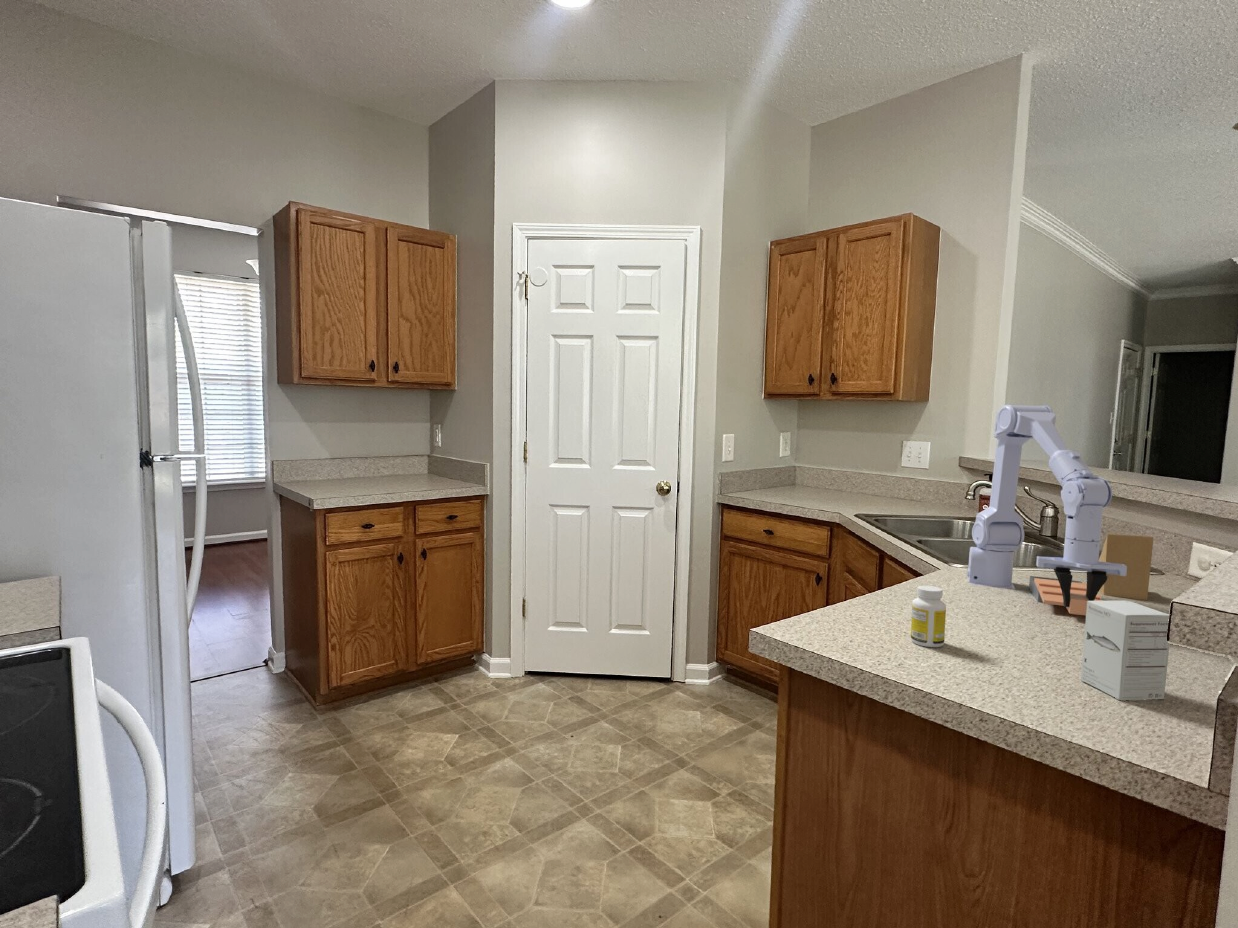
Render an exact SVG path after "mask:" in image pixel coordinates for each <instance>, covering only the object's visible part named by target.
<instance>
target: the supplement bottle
mask: <svg viewBox="0 0 1238 928" xmlns="http://www.w3.org/2000/svg"><path fill="white" fill-rule="evenodd" d="M916 595H917V598H914V599H913V601H912V604H911V623H910V626H911V627H910V640H911V642H912V643H913V644H915V645H918V646H922V647H925V648H926V647H927V648H941V647H943V646H944V645H945V638H946V637H945V635H946V634H945V631H946V612H947V605H946V604H945V602H944V601H943V600H941V599H942V598H943V589H942V588H940V587H938V586H934V585H918V587H917V589H916Z"/></svg>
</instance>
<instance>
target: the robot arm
mask: <svg viewBox="0 0 1238 928" xmlns="http://www.w3.org/2000/svg"><path fill="white" fill-rule="evenodd" d="M1056 420H1057V416H1056V414H1055V412H1053V409H1052V408H1051V407H1050V406H1049V405H1046V404H1045V405H1043V404H1042V405H1020V404H1018V405H1015V404H1014V405H1013V404H1005V405H1003V406H1002V407H1001V408H1000V409H999V410H998V411H997V412H996V416H995V423H994V433H993V437H994V438H996V446H995V454H994V464H993V471H992V472H993V473H992V481H991V490H990V498H989V506H988V507H987V508H985V509H984V510H982V511H980V512H978V513H976V514H975V515H976V516H975V521H974V524H973V526H972V529H971V537H972V540H973V542H974V544H975V545H976V546H970V547H969V554H968V555H969V556H968V568H967V571H966V577H967V580H968V583H969V585H978V586H985V587H986V586H987V587H993V588H994V587H995V588H1003V589H1012V590H1013V589H1014V590H1016V587H1015V585H1014V584H1013V571H1014V570H1013V569H1014V556H1015V551H1018V548H1019V547H1020V546H1022V544H1023V542H1024V540H1025V530H1024V518H1023V517H1022V516H1021V515H1020V514H1019V513H1018V512H1016V510H1015V508H1016V499H1017V493H1018V492H1017V491H1018V482H1019V475H1020V468H1021V467H1020V466H1021V457H1022V451H1023V450H1022V449H1023V445H1025V444H1026V443H1027V442H1028V441H1029V440H1032V439H1034V440H1035V442H1037V444H1038V445H1039V447H1041V449H1042V450H1043V451H1044V452H1045V453H1046V454H1047V455H1048V457H1049V460H1048V467H1049V469H1050V471H1051V473H1052V474H1053V475H1054V477H1055V478H1056V480H1057V482H1058V483H1059V484H1060V486H1061V487H1062V489H1061V490H1060V496H1061V497H1060V498H1061V501H1062V504H1063V512H1064V515H1066V521H1065V532H1064V533H1065V534H1064V543H1063V546H1064V547H1063V557H1057V556H1055V557H1054V556H1053V557H1052V556H1038V555H1037V556H1036V563H1035V564H1036V567H1037V568H1041V569H1044V568H1048V569H1053V571H1054V574H1055V576H1056V579H1058V581H1059V584H1060V587H1061V590H1062V595H1063V603H1064V606H1063V607H1065V608H1067V607H1069V605H1070V590H1071V583H1072V580H1073V577H1074V576H1073V574H1072V571H1077V572H1086V584H1087V590H1086V596H1087V598H1088V600H1089V601H1094V599H1095V597H1096V595H1097V593H1098V594H1099V593H1100V592H1099V590H1100V589H1101V587H1102V586H1103V585H1104V583H1105V582H1106V581H1107V576H1106V574H1115V575H1120V576H1126V573H1127V566H1125V565H1124V564H1115V563H1107V562H1100V561H1099V557H1100V550H1101V537H1102V536H1101V535H1102V525H1103V524H1102V523H1103V514H1104V513H1103V512H1104V508H1106V507H1107V506H1108V505H1109V504H1110V503H1111V501H1112V498H1113V491H1112V487H1111V485H1110V483H1109V480H1108V479H1106V478H1104V477H1099V476H1098V475H1095V474H1093V472H1092V471H1091V469H1090V467H1089V466H1088V465H1087V463H1086V462H1085V461H1084V460H1083V459H1084V458H1082V456H1081V454H1080V453H1079V451H1078V452H1077V451H1075V450H1071V449H1068V447H1067V445H1066V443H1065V442H1064V440H1063V438H1062V436H1061V435H1060V433H1059V432H1058V430H1057V428H1056V422H1057V421H1056Z"/></svg>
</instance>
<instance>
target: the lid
mask: <svg viewBox="0 0 1238 928" xmlns="http://www.w3.org/2000/svg"><path fill="white" fill-rule="evenodd" d="M1034 582H1035V584H1036V586H1037V589H1038V591H1039V593H1040V596H1041V598H1042V601H1043V604H1047V605H1056V606H1063V607H1065V606H1064V603H1063V595H1062V590H1061V587H1060V584H1059V581H1058V580H1048V579H1039V578H1034ZM1086 590H1087V582H1085V583H1084V582H1082V583H1076V582H1072V583H1071V590H1070V605H1069V607H1066V610H1067V611H1068V614H1071V615H1078V616H1086V611H1087V601H1089V600H1088V598H1087V596H1086ZM1094 601H1103V599H1102V597H1101V596H1100V594H1099V592H1098V593H1097V595H1096V597H1095V599H1094Z"/></svg>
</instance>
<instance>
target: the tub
mask: <svg viewBox="0 0 1238 928" xmlns="http://www.w3.org/2000/svg"><path fill="white" fill-rule="evenodd" d="M1034 578H1039V579H1048V580H1058V578H1054V577H1053V578H1052V577H1043V576H1033V575H1029V582H1028V590H1029V591H1030V592H1031V594H1032V595H1033V597H1034V598H1035V600H1036V601H1037V603H1043V601H1042V598H1041V596H1040V593H1039V591H1038V589H1037V586H1036V584H1035V582H1034ZM1072 582H1076V583H1083V581H1081V580H1073V579H1072ZM1043 604H1044V603H1043Z"/></svg>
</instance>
